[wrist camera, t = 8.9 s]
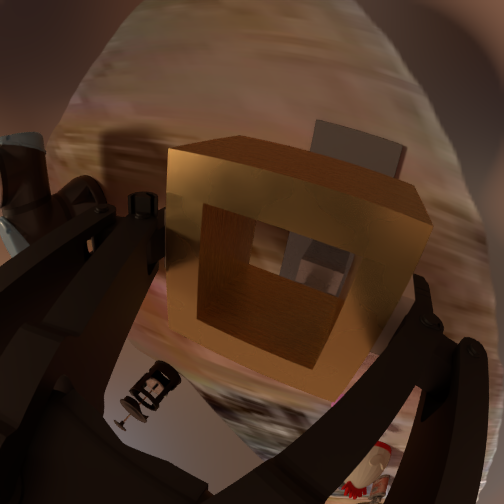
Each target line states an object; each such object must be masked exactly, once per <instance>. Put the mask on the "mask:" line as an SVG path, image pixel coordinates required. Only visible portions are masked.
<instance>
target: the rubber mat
mask: <svg viewBox="0 0 504 504" xmlns="http://www.w3.org/2000/svg"><path fill="white" fill-rule="evenodd" d="M402 146H403V145H401V144H398V143H395V142H392V141H389V140H387V139H384V138H381V137H377V136H374V135H371V134H368V133H365V132H361V131H358V130H355V129H351V128H348V127H344V126H340V125H337V124H333V123H329V122H325V121H321V120H316V124H315V129H314V134H313V139H312V144H311V148H310V152H314V153H318V154H321V155H325V156H328V157H332V158H335V159H339V160H342V161H345V162H349V163H352V164H355V165H358V166H361V167H364V168H367V169H370V170H373V171H376V172H379V173H382V174H385V175H388V176H390V177H393V178H394V175H395V172H396V168H397V165H398V161H399V158H400V154H401V150H402Z"/></svg>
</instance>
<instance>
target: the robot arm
mask: <svg viewBox="0 0 504 504" xmlns="http://www.w3.org/2000/svg"><path fill="white" fill-rule="evenodd" d="M45 155H46V151H45V149H44V141H43V136H42V135H41V134H40V133H38V132H24V133H17V134H12V135H8V136H2V137H0V208H1V209H2V213H3V216H2V217H0V235H1V238H2V240H3V242H4V244H5V246H6V248H7V250H8V252H9V253H10V255H11V257H12V258H11V259H10V260H8V261H7V262H6V263H4V264H3V265H2V266H0V504H325V501H326V500H327V499H328V498H329V496H330V495H331V494H332V493H333V492H334V491H335V490H336V489H337V488H338V487H339V486H340V485H341V484H342V483H343V482H344V481H345V480H346V479H347V477H348V476H349V475H350V474H351V473H352V472H353V471H354V470H355V468H356V467H357V466H358V465H359V464H360V463H361V461H362V460H363V459H364V458H365V457H366V455H367V454H368V453H369V452H370V450H371V449H372V448H373V447H374V445H375V444H376V443H377V441H378V440H379V439H380V437H381V436H382V435H383V433H384V432H385V431H386V429H387V428H388V426H389V425H390V424H391V422H392V421H393V419H394V418H395V416H396V415H397V413H398V412H399V410H400V409H401V407H402V406H403V404H404V403H405V401H406V400H407V398H408V396H409V395H410V393H411V392H412V390H413V388H414V387H415V385H416V386H418V387H420V388H421V389H422V391H421V396H420V400H419V404H418V408H417V412H416V416H415V419H414V423H413V426H412V430H411V433H410V436H409V440H408V443H407V446H406V449H405V452H404V455H403V457H402V460H401V463H400V466H399V468H398V471H397V473H396V476H395V478H394V481H393V483H392V486H391V488H390V490H389V493H388V495H387V497H386V499H385V501H384V504H476V500H477V495H478V491H479V486H480V482H481V476H482V471H483V465H484V458H485V450H486V441H487V430H488V412H489V375H488V357H487V353H486V351H485V349H484V347H483V345H482V344H480V342H479V341H476V340H475V339H473V338H470V337H464V338H463V339H462V340H461V341H460V343H459V344H457V343H455V342H454V341H452V340H450V339H449V338H447V337H446V336H445V335H444V334H443V331H444V326H443V323H442V322H441V320H440V319H439V318H438V317H437V316H436V315H435V314H434V313H433V307H432V301H431V295H430V289H429V285H428V283H427V282H426V280H425V279H424V277H421V276H419V275H416V274H414V273H413V274H412V276H411V279H410V281H409V283H408V285H407V287H406V289H405V291H404V292H403V294H402V296H401V298H400V300H399V302H398V304H397V306H396V308H395V310H394V311H393V313H392V315H391V317H390V319H389V320H388V322H387V324H386V326H385V327H384V329H383V331H382V332H381V334H380V336H379V337H378V339H377V341H376V342H375V344H374V346H373V347H372V349H371V350H370V352H372V353H375V354H378V355H380V356H379V357H378V358H377V359H376V361H375V362H374V363H373V364H372V365H371V366H370V368H369V369H368V370H367V371H366V372H365V373H364V374H363V375H362V376H361V378H360V379H359V380H358V381H357V382H356V383H355V384H354V385H353V386H352V387H351V388H350V389H349V390H348V391H347V392H346V394H345V395H344V396H343V397H342V398H341V399H340V400H339V401H338V402H337V403H336V404H335V405H334V406H333V407H332V408H331V409H329V410H328V411H327V412H326V413H325V414H324V415H323V416H322V417H321V418H320V419H319V420H318V421H317V422H316V423H315V424H313V425H312V426H311V427H310V428H309V429H308V430H307V431H306V432H304V433H303V434H302V435H301V436H300V437H299V438H298V439H296V440H295V441H294V442H293V443H292V444H290V445H289V446H288V447H287V448H286V449H284V450H283V451H282V452H281V453H279V454H278V455H277V456H275V457H273V458H271V459H268V460H267V461H265V462H264V463H262V464H261V465H259V466H258V467H256V468H255V469H253V470H252V471H251V472H249V473H248V474H246V475H245V476H243V477H242V478H240V479H239V480H238V481H236V482H234V483H233V484H231V485H230V486H228V487H227V488H225V489H224V490H222V491H221V492H219V493H218V494H215V495H213V494H212V493H210V492H209V491H208V483H206V482H204V481H202V480H200V479H198V478H196V477H195V476H193V475H191V474H189V473H187V472H185V471H184V470H182V469H180V468H178V467H177V466H175V465H173V464H172V463H170V462H168V461H166V460H162V459H160V458H157V457H154V456H152V455H149V454H146V453H144V452H141V451H139V450H136V449H134V448H132V447H129V446H127V445H125V444H124V443H122V441H121V440H120V439H119V438H118V436H117V435H116V434H115V433H114V431H113V430H112V429H111V427H110V426H109V425H108V424H107V422H106V421H105V419H104V418H103V414H104V393H105V390H106V387H107V384H108V382H109V379H110V376H111V374H112V371H113V369H114V367H115V364H116V362H117V359H118V357H119V354H120V352H121V350H122V347H123V345H124V342H125V340H126V338H127V336H128V333H129V331H130V329H131V326H132V324H133V322H134V320H135V317H136V315H137V313H138V311H139V309H140V306H141V304H142V302H143V300H144V298H145V296H146V294H147V292H148V289H149V287H150V285H151V283H152V281H153V279H154V277H155V275H156V273H157V271H158V268H159V260H160V259H161V258H163V257H164V256H165V268H166V207H164V208H162V209H160V210H158V196H157V195H156V194H155V193H152V192H136V193H132V194H130V195H128V212H129V214H128V215H127V216H126V217H119V216H116V208H115V206H113V205H110V204H107V203H106V200H105V197H104V195H103V192H102V190H101V188H100V187H99V185H98V184H97V183H96V181H95V180H94V179H92V178H91V177H89V176H87V175H82V176H79V177H77V178H74V179H73V180H71V181H70V182H69V183H68V184H67V185H65V186H64V187H63V188H62V189H61V190H59V191H58V192H57V193H55V194H53V195H51V192H50V186H49V179H48V173H47V165H46V157H45ZM87 240H92V247H93V251H91V252H90V253H89V251H88V247H87Z"/></svg>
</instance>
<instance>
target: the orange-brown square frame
mask: <svg viewBox="0 0 504 504" xmlns="http://www.w3.org/2000/svg"><path fill="white" fill-rule="evenodd" d="M256 220H258V221H261V222H264V223H267V224H270V225H273V226H276V227H279V228H282V229H285V230H288V231H291V232H294V233H297V234H300V235H302V236H305V237H308V238H311V239H314V240H317V241H320V242H323V243H325V244H328V245H331V246H334V247H337V248H339V249H342V250H345V251H348V252H351V253H353V254H355V256H354V258H353V261H352V264H351V267H350V269H349V272H348V274H347V277H346V280H345V282H344V285H343V287H342V290H341V292H340V295H339V297H335V296H332V295H330V294H327V293H324V292H322V291H319V290H316V289H314V288H311V287H308V286H306V285H303V284H300V283H298V282H295V281H292V280H290V279H287V278H284V277H282V276H279V275H276V274H274V273H271V272H269V271H266V270H263V269H261V268H258V267H255V266H253V265H250V264H249V261H250V255H251V249H252V243H253V237H254V231H255V226H256ZM432 229H433V224H432V222H431V220H430V217H429V215H428V213H427V211H426V209H425V207H424V204H423V202H422V200H421V198H420V196H419V194H418V192H417V190H416V188H415V186H414V185H412V184H409V183H406V182H404V181H401V180H399V179H396V178H393V177H390V176H388V175H385V174H382V173H379V172H376V171H373V170H370V169H367V168H364V167H361V166H358V165H355V164H352V163H349V162H345V161H342V160H339V159H335V158H332V157H328V156H325V155H321V154H318V153H314V152H310V151H307V150H303V149H299V148H295V147H291V146H287V145H283V144H279V143H274V142H270V141H265V140H261V139H256V138H251V137H246V136H241V135H238V136H231V137H225V138H219V139H213V140H207V141H202V142H197V143H192V144H186V145H182V146H177V147H172V148H169V150H168V166H167V188H166V283H167V305H168V322H169V328H170V329H172V330H173V331H175V332H177V333H179V334H181V335H183V336H184V337H186V338H188V339H190V340H192V341H194V342H196V343H198V344H200V345H202V346H203V347H205V348H207V349H209V350H211V351H213V352H215V353H217V354H219V355H222V356H224V357H226V358H228V359H230V360H232V361H234V362H236V363H238V364H240V365H243V366H245V367H247V368H249V369H251V370H254V371H256V372H258V373H260V374H263V375H265V376H267V377H270V378H272V379H274V380H277V381H279V382H282V383H284V384H286V385H289V386H291V387H294V388H296V389H299V390H302V391H304V392H307V393H309V394H312V395H315V396H317V397H320V398H323V399H326V400H328V401H331V402H334V403H335V401H336V400H337V399H338V397H339V396H340V395H341V393H342V392H343V391H344V389H345V388H346V386H347V385H348V384H349V382H350V381H351V379H352V378H353V376H354V375H355V373H356V372H357V370H358V369H359V367H360V366H361V364H362V363H363V361H364V360H365V358H366V357H367V355H368V354H369V352H370V350H371V349H372V347H373V346H374V344H375V342H376V341H377V339H378V337H379V336H380V334H381V332H382V331H383V329H384V327H385V326H386V324H387V322H388V320H389V319H390V317H391V315H392V313H393V311H394V310H395V308H396V306H397V304H398V302H399V300H400V298H401V296H402V294H403V292H404V291H405V289H406V287H407V285H408V283H409V281H410V279H411V276H412V274H413V272H414V270H415V268H416V266H417V264H418V262H419V259H420V257H421V255H422V253H423V250H424V248H425V246H426V243H427V241H428V239H429V236H430V234H431V231H432Z"/></svg>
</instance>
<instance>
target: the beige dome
mask: <svg viewBox="0 0 504 504" xmlns="http://www.w3.org/2000/svg"><path fill="white" fill-rule="evenodd" d="M390 456H391V448H390V446H388V445H387V444H385V443H383V442H380V441H377V443H376V444H375V445H374V447H373V448H372V449H371V450H370V452H369V453H368V454H367V455H366V457H365V458H364V459H363V460H362V461H361V463H360V464H359V465H358V466H357V467H356V468H355V470H354V471H353V472H352V473H351V474H350V475H349V476H348V477H347V479H346V480H345V481H344V482H345V483H346V484H345V485H344V486H343V487H342V489H341V490H343V489H345V488H346V489H345V493H344V495H347V494H348V493H349V491H350V493H349V498H352V496H353V499H356V498H357V496H358V497H362V491H363V495H366V494H367V490H366V486H368V485H370V484H372V483H373V482H374V481H375V480H376V479H377V478H378V477H379V476H380V475H381V474H382V472H383V471H384V469H385V468H386V466H387V464H388V462H389V460H390Z"/></svg>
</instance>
